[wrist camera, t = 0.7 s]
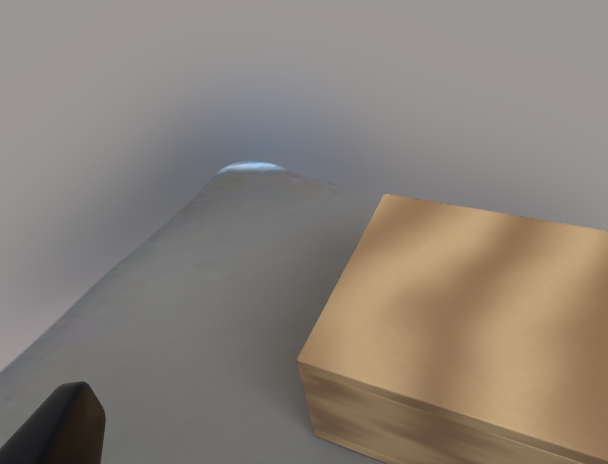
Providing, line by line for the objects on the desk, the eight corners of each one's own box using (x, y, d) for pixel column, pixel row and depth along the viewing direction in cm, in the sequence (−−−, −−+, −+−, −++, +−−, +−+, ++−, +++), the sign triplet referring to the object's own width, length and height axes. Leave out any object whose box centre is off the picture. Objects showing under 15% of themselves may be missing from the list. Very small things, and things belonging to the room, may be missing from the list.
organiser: (609, 324, 27) (647, 237, 23) (600, 545, 20) (652, 475, 16) (386, 273, 32) (384, 192, 28) (313, 436, 25) (295, 360, 21)
